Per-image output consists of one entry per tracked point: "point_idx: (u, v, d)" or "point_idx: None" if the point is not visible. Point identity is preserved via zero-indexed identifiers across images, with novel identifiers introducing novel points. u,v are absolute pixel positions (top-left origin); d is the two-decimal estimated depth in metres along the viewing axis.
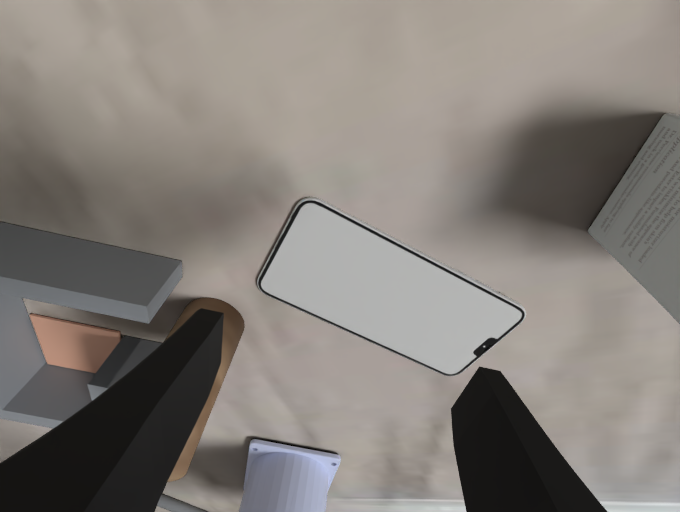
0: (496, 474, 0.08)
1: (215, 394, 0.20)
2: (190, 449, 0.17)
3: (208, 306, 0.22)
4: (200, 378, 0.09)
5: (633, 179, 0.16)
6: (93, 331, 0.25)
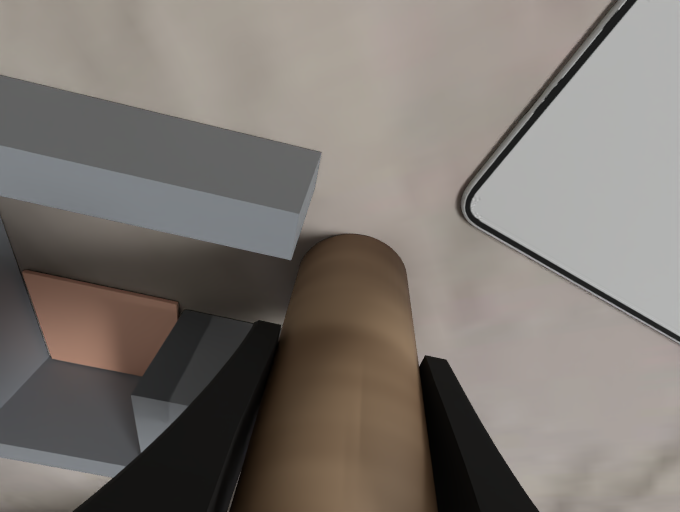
0: (432, 461, 0.08)
1: None
2: None
3: (360, 246, 0.12)
4: (263, 390, 0.09)
5: None
6: (132, 301, 0.15)
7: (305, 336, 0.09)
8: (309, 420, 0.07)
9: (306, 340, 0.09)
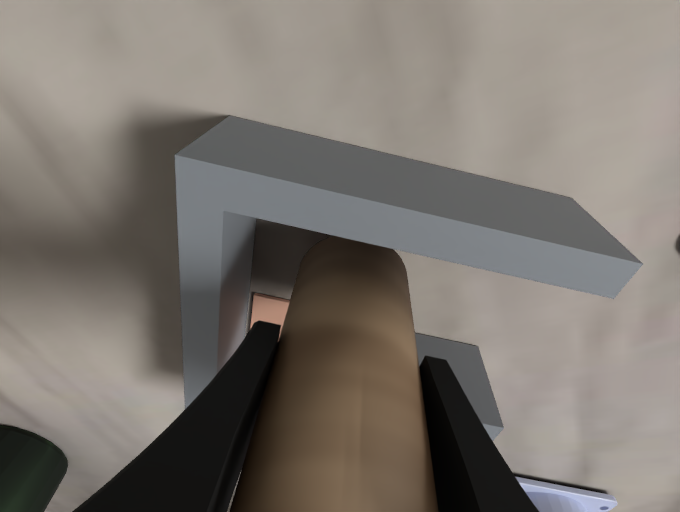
0: (432, 461, 0.08)
1: None
2: None
3: (361, 246, 0.12)
4: (262, 391, 0.09)
5: None
6: None
7: (305, 336, 0.09)
8: (309, 420, 0.07)
9: (306, 340, 0.09)
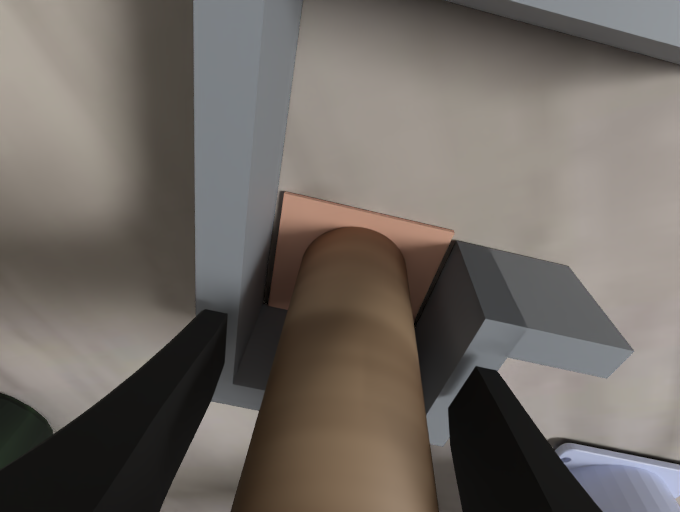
0: (492, 473, 0.08)
1: None
2: None
3: (361, 238, 0.12)
4: (204, 379, 0.09)
5: None
6: (401, 230, 0.13)
7: (309, 321, 0.09)
8: (314, 396, 0.07)
9: (310, 324, 0.09)
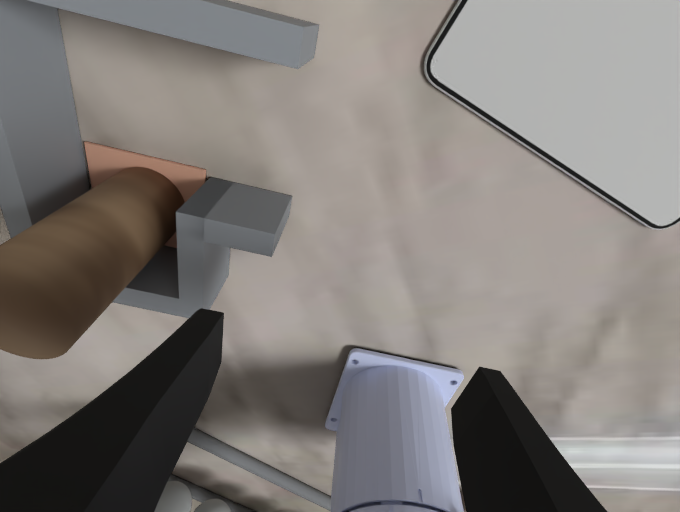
0: (496, 474, 0.08)
1: (130, 261, 0.15)
2: (77, 306, 0.12)
3: (135, 172, 0.18)
4: (200, 378, 0.09)
5: None
6: (169, 169, 0.18)
7: None
8: (20, 234, 0.13)
9: (55, 211, 0.15)
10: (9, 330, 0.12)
